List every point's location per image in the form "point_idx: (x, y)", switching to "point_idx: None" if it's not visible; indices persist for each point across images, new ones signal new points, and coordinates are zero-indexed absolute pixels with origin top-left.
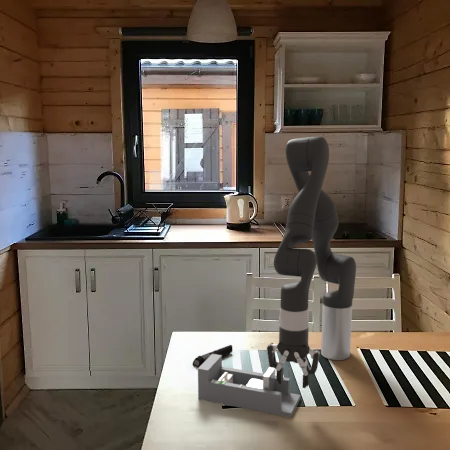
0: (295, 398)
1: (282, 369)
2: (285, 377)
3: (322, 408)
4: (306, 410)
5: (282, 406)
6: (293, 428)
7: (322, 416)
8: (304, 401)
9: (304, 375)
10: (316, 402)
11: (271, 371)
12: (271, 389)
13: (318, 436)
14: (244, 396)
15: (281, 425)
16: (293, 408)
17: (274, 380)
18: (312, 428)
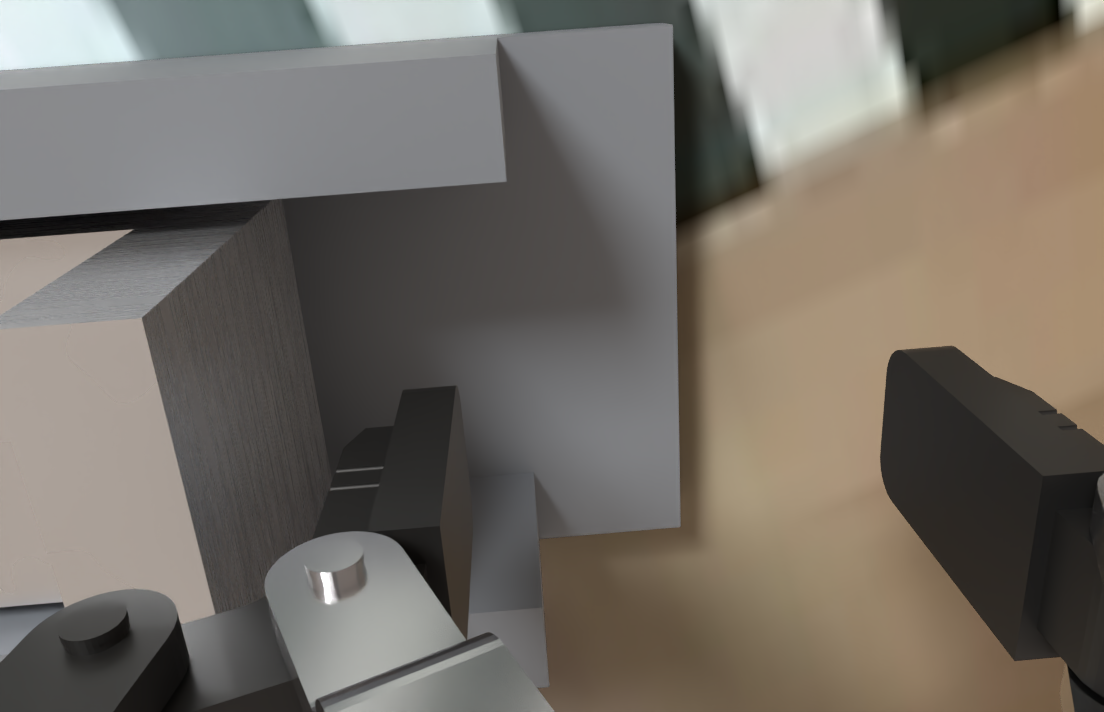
0: (632, 166)
1: (446, 601)
2: (396, 65)
3: (999, 141)
4: (806, 278)
5: (532, 435)
6: (746, 652)
7: (1013, 324)
8: (733, 62)
9: (1054, 652)
10: (902, 13)
11: (170, 552)
12: (300, 421)
13: (1002, 668)
14: None
15: (618, 656)
16: (678, 421)
17: (246, 277)
18: (930, 579)
